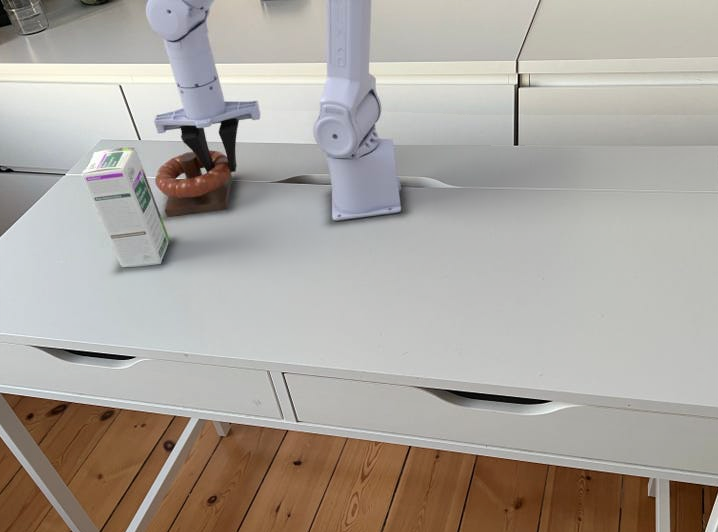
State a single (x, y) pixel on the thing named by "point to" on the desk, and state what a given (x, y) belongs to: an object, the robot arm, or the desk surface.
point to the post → (200, 203)
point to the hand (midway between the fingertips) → (222, 170)
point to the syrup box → (126, 206)
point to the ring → (193, 185)
